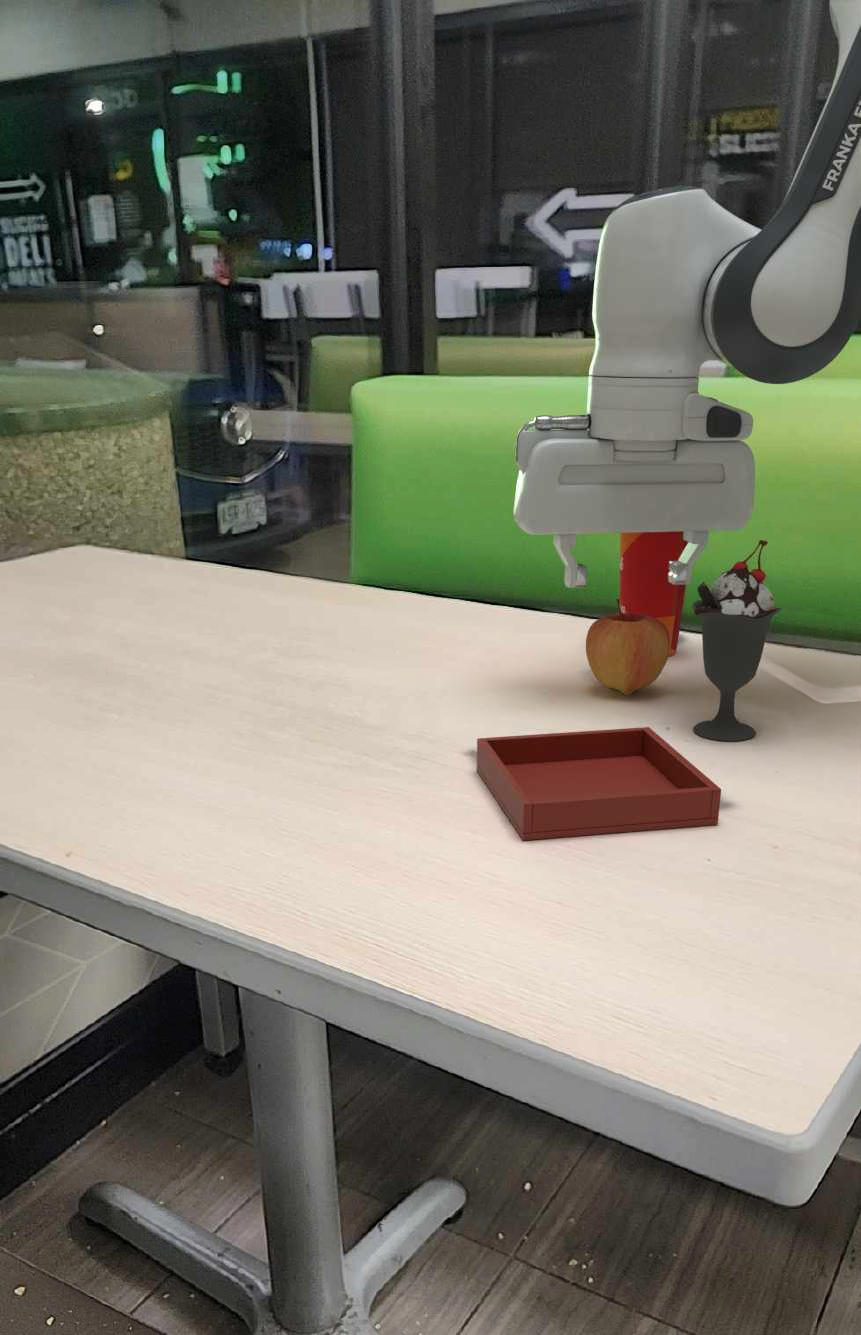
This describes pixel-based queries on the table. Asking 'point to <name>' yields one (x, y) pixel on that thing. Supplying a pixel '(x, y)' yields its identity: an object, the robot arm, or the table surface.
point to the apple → (627, 650)
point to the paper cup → (652, 578)
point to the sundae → (733, 641)
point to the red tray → (595, 783)
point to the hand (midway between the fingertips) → (627, 585)
